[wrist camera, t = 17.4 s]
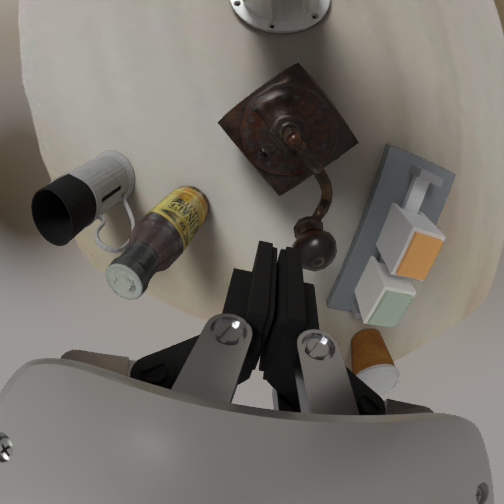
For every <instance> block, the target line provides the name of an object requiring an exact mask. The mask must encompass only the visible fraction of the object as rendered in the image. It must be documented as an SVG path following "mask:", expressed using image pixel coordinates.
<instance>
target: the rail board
mask: <svg viewBox="0 0 504 504" xmlns="http://www.w3.org/2000/svg"><path fill="white" fill-rule="evenodd" d="M454 177H455V174H453V173H452V172H450V171H448V170H446V169H444V168H442V167H440V166H438V165H436V164H434V163H431V162H429V161H427V160H425V159H423V158H420V157H418V156H416V155H413V154H411V153H409V152H406V151H404V150H401V149H399V148H396V147H394V146H391V145H388V144H386V147H385V150H384V154H383V157H382V160H381V163H380V166H379V170H378V173H377V176H376V179H375V182H374V185H373V188H372V190H371V193H370V196H369V199H368V202H367V205H366V207H365V210H364V213H363V215H362V218H361V221H360V223H359V226H358V229H357V231H356V234H355V236H354V239H353V241H352V244H351V246H350V249H349V251H348V254H347V256H346V258H345V261H344V263H343V266H342V268H341V270H340V273H339V275H338V277H337V279H336V282H335V284H334V286H333V288H332V291H331V293H330V295H329V297H328V299H327V301H326V302H327V307H329V308H334V309H340V310H346V311H352V312H353V317H354V318H357V319H362V320H363V323H365V324H370V325H377V326H385V327H393V328H394V327H395V325H396V324H397V322H398V321H399V319H400V318H401V316H402V315H403V313H404V312H405V310H406V309H407V307H408V306H409V304H410V302H411V301H412V299H413V297H414V296H415V294H416V291H415V289H414V287H413V285H412V283H411V282H410V280H409V278H406V277H401V276H397V275H392V274H390V272H389V270H388V268H387V266H386V264H385V262H384V260H383V258H382V256H381V254H380V252H379V250H378V248H377V246H376V242H377V240H378V238H379V235H380V233H381V231H382V228H383V226H384V223H385V221H386V218H387V216H388V213H389V211H390V208H391V205H392V203H396V204H398V205H399V207H400V208H402V209H405V210H408V211H411V212H414V213H417V214H418V212H422V213H424V214H425V215H426V217H427V218H428V219H429V220H430V221H431V222H432V223H433V224H434V225H435V224H436V222H437V220H438V218H439V215H440V213H441V211H442V208H443V206H444V203H445V201H446V198H447V196H448V193H449V191H450V188H451V185H452V183H453V180H454Z"/></svg>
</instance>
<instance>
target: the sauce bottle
mask: <svg viewBox="0 0 504 504" xmlns="http://www.w3.org/2000/svg"><path fill="white" fill-rule="evenodd" d="M207 213H208V200H207V198H206V196H205V195H204V193H203V192H202V191H200V190H199V189H197V188H195V187H192V186H183V187H179V188H177V189H176V190H174V191H172V192H171V193H170V194H169V195H168V196H167V197H165V198H164V199H163V200H162V201H161V202H160V203H159V204H157V205H156V206H155V207H154V208H153V209H152V210H150V211H149V212H148V213H147V214H146V215H145V216H144V217H143V218H142V219H141V220H140V221H139V222H138V223H137V224H136V225H135V226H134V228H133V229H132V231H131V234H130V237H129V246H128V247H127V248H126V251H124V253H123V254H122V255H121V256H120V257H118V258H116V259H114V260H113V261H112V262H111V264H110V265H109V266H108V268H107V270H106V280H107V282H108V284H109V286H110V287H111V288H112V290H113V291H114V292H115V293H116V294H117V295H119V296H120V297H123V298H125V299H129V300H134V299H138V298H139V297H140V296H141V295H142V294H143V293H144V291H145V290H146V289H147V287H148V283H149V281H150V279H151V278H152V276H153V275H154V274H155V273H156V272H159V271H164V270H166V269H167V268H169V267H170V266H171V264H172V263H173V262H174V261H175V260H176V259H177V258H178V257H179V256H180V255H181V254H182V253H183V251H184V250H185V249H186V247H187V246H188V244H189V243H190V241H191V240H192V238H193V237H194V235H195V234H196V232H197V231H198V229H199V228H200V226H201V225H202V223H203V222H204V220H205V218H206V216H207Z"/></svg>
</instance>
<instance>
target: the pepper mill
mask: <svg viewBox="0 0 504 504" xmlns="http://www.w3.org/2000/svg"><path fill="white" fill-rule="evenodd" d="M218 124H219V125H220V126H221V127H222V129H223V130H224V131H225V132H226V133H227V135H228V136H229V137H230V138H231V140H232V141H233V142H234V143H235V145H236V146H237V147H238V148H239V149H240V150H241V152H242V153H243V154H244V155H245V157H246V158H247V159H248V160H249V161H250V163H251V164H252V165H253V166H254V167H255V168H256V169H257V171H258V172H259V173H260V174H261V176H262V177H263V178H264V179H265V181H266V182H267V183H268V184H269V185H270V186H271V187H272V188H273V189H274V190H275V191H276V193H277V194H278V195H279V196H280V195H282V194H284V193H285V192H287V191H289V190H291V189H292V188H294V187H295V186H297V185H298V184H300V183H302V182H303V181H304V180H306V179H307V178H309V177H310V176H312V175H313V174H314V175H315V177H316V179H317V181H318V182H319V184H320V187H321V191H322V194H321V200H320V202H319V204H318V206H317V208H316V210H315V212H314V213H313V215H312V216H309V217H305V218H302V219H300V220H298V222H297V223H296V225H295V226H294V233H295V238H297V239H296V241H295V242H294V244H293V247H292V248H296V249H300V250H301V259H302V268H303V269H307V270H311V271H318V270H321V269H324V268H326V267H327V266H328V265H329V264H330V263H332V262H333V260H334V258H335V256H336V253H337V249H336V241H335V239H334V237H333V236H332V235H331V234H330V233H329V232H326V231H323V223H322V222H321V220H322V218H323V217H324V216H325V214H326V213H327V211H328V209H329V207H330V204H331V200H332V188H331V182H330V179H329V177H328V175H327V173H326V171H325V169H324V168H323V167H325V166H327V165H328V164H330V163H331V162H333V161H334V160H336V159H338V158H339V157H340V156H341V155H342V154H344V153H345V152H346V151H348V150H349V149H350V148H352V147H353V146H355V145H356V144H357V143H358V141H357V139H356V138H355V136H354V134H353V133H352V131H351V130H350V128H349V126H348V125H347V123H346V122H345V120H344V119H343V117H342V116H341V115H340V113H339V112H338V110H337V109H336V107H335V106H334V105H333V103H332V102H331V100H330V99H329V98H328V96H327V95H326V94H325V92H324V91H323V90H322V89H321V88H320V86H319V85H318V84H317V83H316V82H315V81H314V80H313V78H312V77H311V76H310V75H309V74H308V73H307V72H306V71H305V70H304V69H303V68H302V66H301V65H300V64H299V63H296V64H295V65H293V66H291V67H289V68H288V69H286V70H284V71H283V72H281V73H279V74H278V75H276V76H275V77H274V78H272V79H271V80H269V81H268V82H266V83H265V84H264V85H262V86H261V87H260V88H258V89H257V90H255V91H254V92H253V93H251V94H250V95H249V96H247V97H246V98H245V99H244V100H242V101H241V102H240V103H238V104H237V105H236V106H235V107H234V108H232V109H231V110H230V111H229V112H228V113H227V114H226V115H224V116H223V118H222V119H221V120H220V121H219V122H218Z"/></svg>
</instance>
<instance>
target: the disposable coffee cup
mask: <svg viewBox="0 0 504 504" xmlns="http://www.w3.org/2000/svg"><path fill="white" fill-rule="evenodd" d="M351 347H352V372H353V373H354V374H355V375H356V376H357V377H358V378H359V379H361V380H362V381H363V382H364V383H365V384H366V385H368V386H369V387H370V388H371V389H372V390H373V391H375V392H376V393H377V394H378V395H379V396H381V395H384V394H386V393H388V392H389V391H391V390H392V389H394V388H395V387H396V386H397V384H398V382H399V376H400V372H399V370H398V369H397V368H396V367H395V365H394V363H393V360H392V358H391V356H390V354H389V352H388V349H387V347H386V345H385V343H384V341H383V339H382V337H381V335H380V332H379V331H378V330H376V329H364V330H362V331H359V332H358V333H356V334H355V335H354V336H353V338H352V340H351Z"/></svg>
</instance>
